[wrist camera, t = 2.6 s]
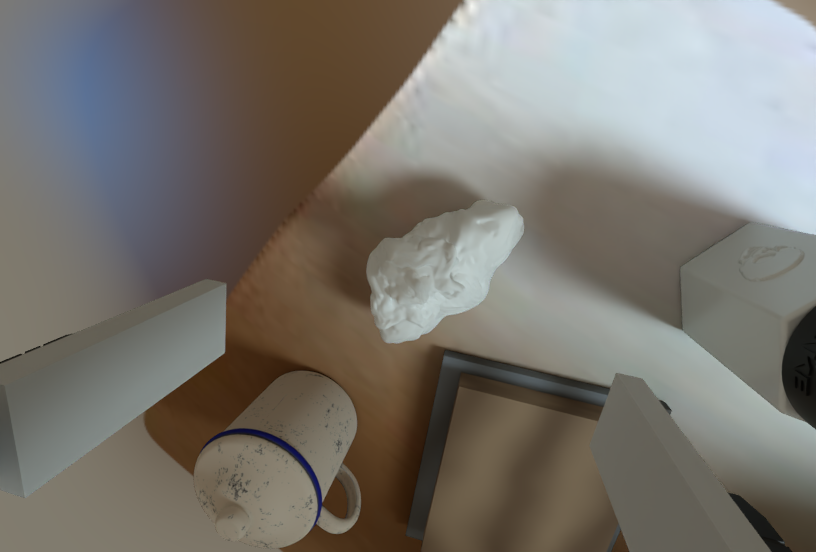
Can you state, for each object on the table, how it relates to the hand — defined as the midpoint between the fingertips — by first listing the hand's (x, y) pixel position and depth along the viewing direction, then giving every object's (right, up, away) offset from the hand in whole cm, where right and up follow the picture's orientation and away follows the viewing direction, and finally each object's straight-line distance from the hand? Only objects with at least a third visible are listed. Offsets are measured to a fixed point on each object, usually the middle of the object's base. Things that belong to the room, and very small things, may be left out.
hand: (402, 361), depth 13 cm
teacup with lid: (-7, -10, +21) cm, 25 cm away
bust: (+3, +4, +15) cm, 16 cm away
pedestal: (+9, -13, +18) cm, 24 cm away
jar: (+22, +2, +12) cm, 25 cm away
